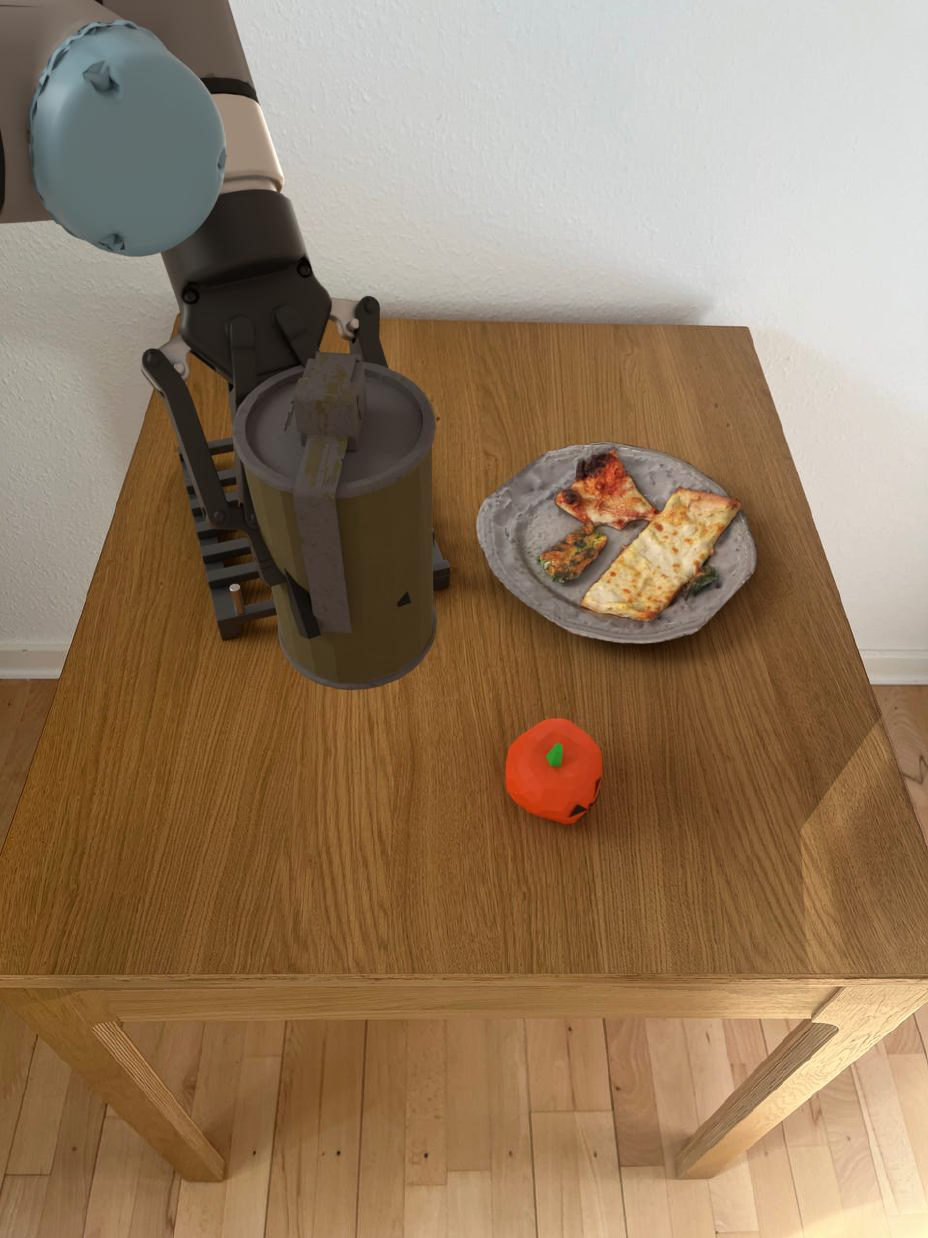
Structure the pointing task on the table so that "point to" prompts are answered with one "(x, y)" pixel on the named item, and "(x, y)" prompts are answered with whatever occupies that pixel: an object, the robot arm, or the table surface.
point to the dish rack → (216, 552)
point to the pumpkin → (554, 771)
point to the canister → (346, 513)
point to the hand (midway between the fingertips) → (355, 618)
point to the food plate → (617, 542)
